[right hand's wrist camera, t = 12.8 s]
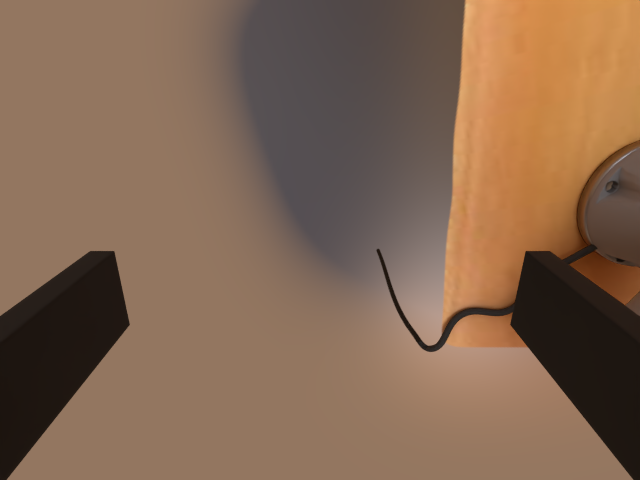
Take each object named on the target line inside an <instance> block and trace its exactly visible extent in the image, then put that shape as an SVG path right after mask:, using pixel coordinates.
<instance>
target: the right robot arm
mask: <svg viewBox="0 0 640 480" xmlns="http://www.w3.org/2000/svg"><path fill="white" fill-rule="evenodd" d="M577 220H578V227H579V231H580V233H581V236H582V238H583V239H584V241H585V242H586V244H587V245H588V246H587V247H585V248H584V249H582V250H580V251H578V252H576V253H574V254H573V255H571V256H569V257H567V258H565V259H563V260H561V259H560V258H559V257H557V256H556V255H554V254H553V253H552V252H550V251H526V252H525V257H524V262H523V267H522V272H521V276H520V281H519V286H518V291H517V295H516V300H515V303H514V304H513V305H511V306H509V307H507V308H505V309H500V310H492V309H483V308H469V309H466V310H463V311H461V312H459V313H457V314H456V315H455V316H454V317H452V319H451V320H450V321H449V323H448V324H447V326H446V328H445V330H444V332H443V334H442V336H441V338H440V340H439V341H438V342H437V343H436V344H435V345H432V346H428V345H426V344H425V343H424V342H423V341H422V340H421V338H420V337H419V335H418V334H417V333H416V331H415V330H414V329H413V327H412V326H411V325H410V323H409V322H408V320H407V318H406V317H405V315H404V313H403V311H402V309H401V307H400V305H399V303H398V301H397V298H396V295H395V293H394V290H393V287H392V284H391V281H390V278H389V274H388V271H387V268H386V265H385V262H384V259H383V257H382V254H381V252H380V249H377V250H376V251H377V254H378V256H379V259H380V262H381V265H382V268H383V272H384V275H385V279H386V282H387V286H388V289H389V292H390V295H391V298H392V300H393V303H394V305H395V308H396V310H397V312H398V314H399V316H400V318H401V319H402V321H403V323H404V324H405V326H406V328H407V329H408V330H409V332H410V333H411V335H412V336H413V337H414V339H415V340H416V342H417V343H418V345H419V346H420V347H421V348H422V349H423V350H425V351H428V352H434V351H437V350H439V349H440V348H441V347H442V346H443V345H444V344H445V342H446V340H447V339H448V337H449V334H450V332H451V331H452V329H453V327H454V325H455V324H456V323H457V322H458V321H459V320H460V319H462V318H463V317H465V316H468V315H473V314H480V315H489V316H503V315H507V314H510V313H512V312H513V314H512V319H511V324H510V325H511V326H512V327H513V329H514V330H515V331H516V332H517V334H518V335H519V336H520V338H521V339H522V340H523V341H524V343H525V344H526V345H527V346H528V348H529V349H530V350H531V351H532V353H533V354H534V355H535V356H536V358H537V359H538V360H539V361H540V363H541V364H542V365H543V366H544V368H545V369H546V370H547V371H548V373H549V374H550V375H551V377H552V378H553V379H554V380H555V381H556V383H557V384H558V385H559V387H560V388H561V389H562V390H563V392H564V393H565V394H566V395H567V397H568V398H569V399H570V400H571V402H572V403H573V404H574V405H575V407H576V408H577V409H578V411H579V412H580V413H581V414H582V415H583V417H584V418H585V419H586V421H587V422H588V423H589V424H590V426H591V427H592V428H593V429H594V431H595V432H596V433H597V434H598V436H599V437H600V438H601V439H602V441H603V442H604V443H605V444H606V446H607V447H608V448H609V449H610V451H611V452H612V453H613V455H614V456H615V457H616V458H617V460H618V461H619V462H620V463H621V465H622V466H623V467H624V468H625V470H626V471H627V472H628V473H629V475H630V476H631V477H632V478H633V480H640V291H639V292H638V293H637V294H636V295H635V296H634V297H633V298H632V299H631V300H630V301H629V302H628V303H627V304H626V305H624V304H622V303H621V302H619V301H618V300H617V299H615V298H614V297H613V296H611V295H610V294H608V293H607V292H606V291H604V290H603V289H601V288H600V287H599V286H597V285H596V284H595V283H593V282H592V281H590V280H589V279H588V278H586V277H585V276H583V275H582V274H581V273H579V272H578V271H577V270H575V269H574V268H572V267H571V266H570V265H568V264H570V263H572V262H574V261H576V260H578V259H580V258H582V257H583V256H585V255H587V254H589V253H591V252H593V251H595V252H597V253H598V254H600V255H601V256H603V257H605V258H606V259H608V260H610V261H612V262H615V263H618V264H622V265H628V266H636V267H640V141H638V142H635V143H633V144H630V145H628V146H626V147H624V148H622V149H621V150H619V151H618V152H616V153H615V154H613V155H612V156H610V157H609V158H608V159H607V160H606V161H605V162H603V163H602V165H601V166H600V167H599V168H598V169H597V170H596V171H595V172H594V174H593V175H592V176H591V178H590V179H589V181H588V182H587V184H586V186H585V188H584V190H583V192H582V195H581V198H580V201H579V205H578V213H577ZM129 325H130V324H129V319H128V314H127V310H126V305H125V300H124V295H123V291H122V286H121V281H120V276H119V272H118V267H117V262H116V257H115V253H114V251H90V252H88V253H87V254H86V255H84V256H83V257H82V258H80V259H79V260H77V261H76V262H75V263H73V264H72V265H70V266H69V267H68V268H66V269H65V270H64V271H62V272H61V273H59V274H58V275H57V276H55V277H54V278H52V279H51V280H50V281H48V282H47V283H46V284H44V285H43V286H41V287H40V288H39V289H37V290H36V291H34V292H33V293H32V294H30V295H29V296H28V297H26V298H25V299H23V300H22V301H21V302H19V303H18V304H16V305H15V306H14V307H12V308H11V309H10V310H8V311H7V312H5V313H4V314H3V315H1V316H0V480H7V478H8V477H9V476H10V475H11V473H12V472H13V471H14V470H15V468H16V467H17V466H18V465H19V463H20V462H21V461H22V460H23V458H24V457H25V456H26V455H27V453H28V452H29V451H30V449H31V448H32V447H33V446H34V444H35V443H36V442H37V441H38V439H39V438H40V437H41V436H42V434H43V433H44V432H45V431H46V429H47V428H48V427H49V426H50V424H51V423H52V422H53V421H54V419H55V418H56V417H57V416H58V414H59V413H60V412H61V411H62V409H63V408H64V407H65V405H66V404H67V403H68V402H69V400H70V399H71V398H72V397H73V395H74V394H75V393H76V392H77V390H78V389H79V388H80V387H81V385H82V384H83V383H84V382H85V380H86V379H87V378H88V376H89V375H90V374H91V373H92V371H93V370H94V369H95V368H96V366H97V365H98V364H99V363H100V361H101V360H102V359H103V358H104V356H105V355H106V354H107V353H108V351H109V350H110V349H111V348H112V346H113V345H114V344H115V343H116V341H117V340H118V339H119V338H120V336H121V335H122V334H123V332H124V331H125V330H126V329H127V327H128V326H129Z"/></svg>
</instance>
